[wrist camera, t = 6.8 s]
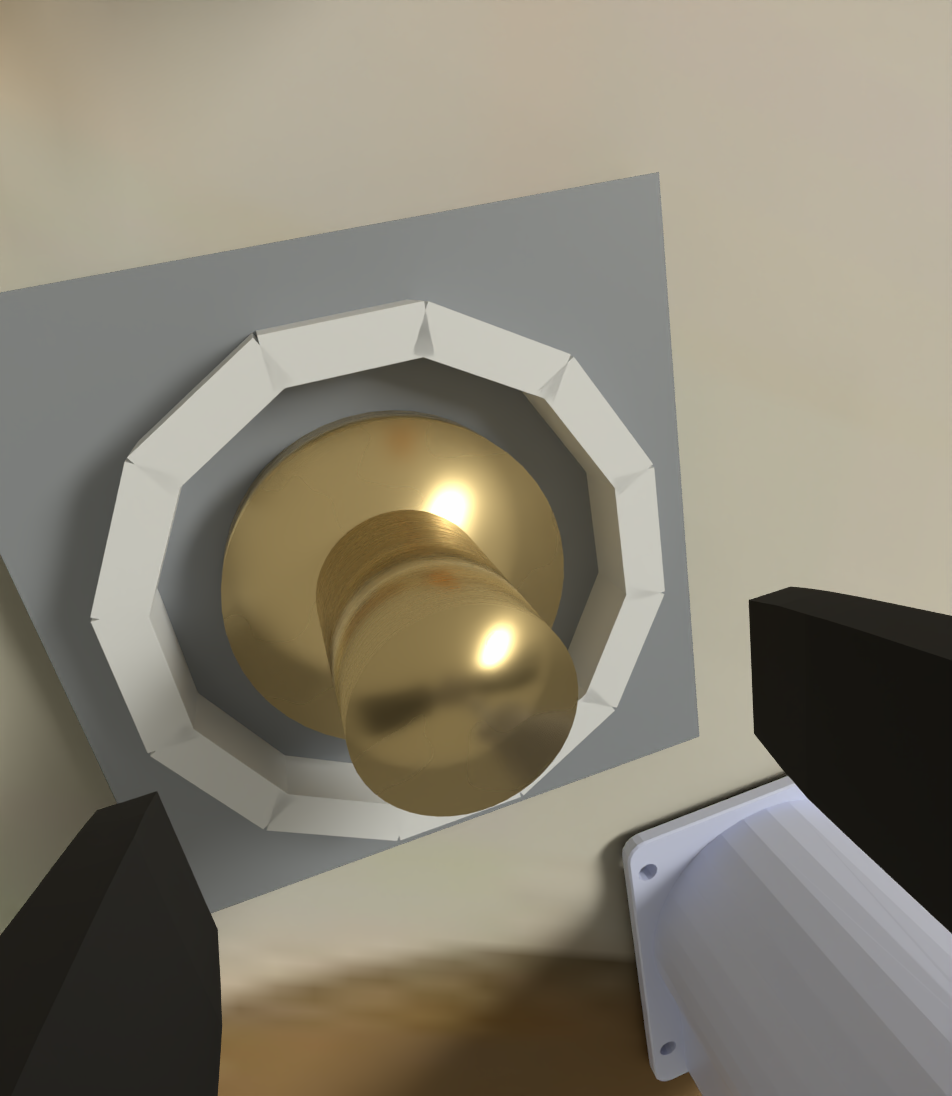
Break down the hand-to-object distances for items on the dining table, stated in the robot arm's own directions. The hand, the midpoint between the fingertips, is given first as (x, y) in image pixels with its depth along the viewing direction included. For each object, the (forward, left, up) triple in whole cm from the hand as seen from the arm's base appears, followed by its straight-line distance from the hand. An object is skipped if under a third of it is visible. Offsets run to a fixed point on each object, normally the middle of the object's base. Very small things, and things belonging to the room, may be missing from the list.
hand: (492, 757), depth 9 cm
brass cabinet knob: (0, 0, -6) cm, 6 cm away
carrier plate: (0, 0, -7) cm, 7 cm away
